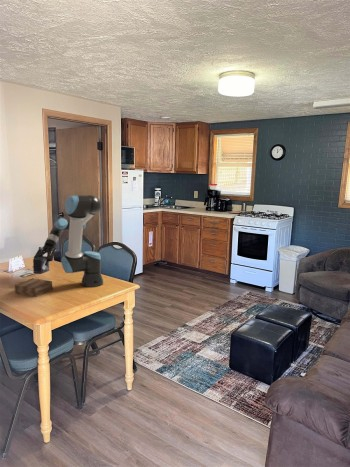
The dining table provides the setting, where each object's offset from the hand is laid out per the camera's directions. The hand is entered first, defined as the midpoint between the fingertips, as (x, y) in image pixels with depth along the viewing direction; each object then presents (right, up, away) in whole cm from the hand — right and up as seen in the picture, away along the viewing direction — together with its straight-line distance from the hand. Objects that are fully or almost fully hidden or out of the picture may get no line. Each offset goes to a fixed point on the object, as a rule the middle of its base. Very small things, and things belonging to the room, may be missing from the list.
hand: (38, 268), depth 237 cm
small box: (+1, -3, +4) cm, 5 cm away
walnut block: (+2, -14, -13) cm, 19 cm away
